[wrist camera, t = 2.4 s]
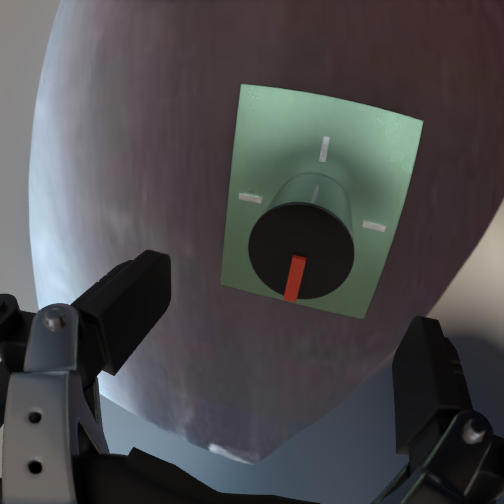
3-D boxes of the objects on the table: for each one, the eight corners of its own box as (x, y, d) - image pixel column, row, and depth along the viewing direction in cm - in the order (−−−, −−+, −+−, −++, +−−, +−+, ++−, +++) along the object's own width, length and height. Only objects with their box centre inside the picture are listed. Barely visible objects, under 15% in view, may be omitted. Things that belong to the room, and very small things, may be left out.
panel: (254, 86, 18) (239, 82, 15) (411, 118, 16) (424, 120, 13) (233, 264, 24) (219, 285, 21) (362, 295, 22) (363, 321, 19)
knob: (280, 165, 17) (252, 193, 12) (359, 183, 16) (367, 219, 11) (268, 237, 19) (240, 290, 14) (340, 254, 18) (338, 313, 13)
